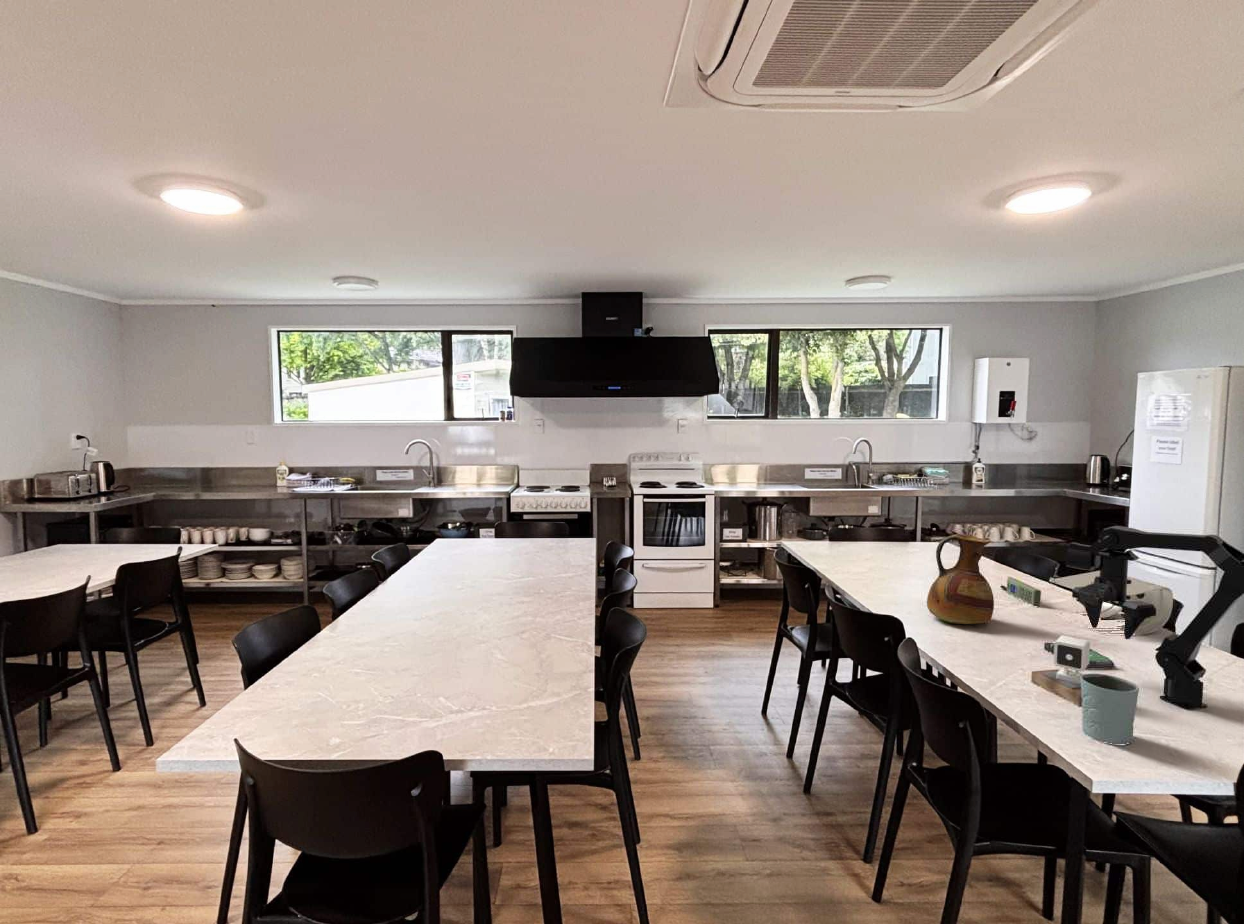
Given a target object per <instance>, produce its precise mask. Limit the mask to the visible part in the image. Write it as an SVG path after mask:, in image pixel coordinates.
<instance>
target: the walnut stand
mask: <svg viewBox="0 0 1244 924" xmlns="http://www.w3.org/2000/svg"><path fill="white" fill-rule="evenodd" d="M1060 669H1061V668H1059V669H1058V668H1056V669H1043V670H1032V671H1031V681H1030V683H1031V682H1033V683H1034V685H1035V684H1036V685H1035V686H1037V685H1038V686H1037V687H1039V686H1041V687H1042V688H1041V687H1040V688H1041V689H1043V688H1044V689H1043V690H1045V689H1046V690H1045V691H1047V690H1048V691H1047V692H1049V691H1051V692H1052V693H1051V692H1050V693H1051V694H1053V693H1055V694H1056V696H1057V695H1059V696H1060V697H1059V696H1058V697H1059V698H1061V697H1063V698H1064V700H1065V699H1067V700H1069V701H1071V702H1073V703H1074V704H1073V703H1072V704H1073V705H1075V704H1077V705H1078V707H1082V697H1081V695H1082V691H1081V684H1078V683H1074V682H1070V681H1066V680H1061V679H1057V672H1058V671H1059V670H1060ZM1033 683H1032V684H1033ZM1055 694H1054V695H1055ZM1063 698H1062V699H1063ZM1067 700H1066V701H1067ZM1069 701H1068V702H1069ZM1071 702H1070V703H1071ZM1077 705H1076V706H1077Z"/></svg>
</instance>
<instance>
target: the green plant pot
mask: <svg viewBox="0 0 1244 924" xmlns="http://www.w3.org/2000/svg"><path fill="white" fill-rule="evenodd" d="M1080 680H1081V691H1082V695H1081V697H1082V706H1081V713H1082V715H1081V724H1082V725H1081V727H1082V732H1083V731H1084V732H1083V733H1084V734H1085V735H1086V734H1087V735H1088V737H1089V736H1090V737H1092V738H1094V739H1096V740H1095V741H1097V740H1099V741H1098V742H1100V741H1102V742H1101V743H1103V742H1107V743H1112V744H1127V743H1131V744H1132V743H1133V735H1134V723H1135V722H1134V721H1135V716H1136V715H1135V712H1136V710H1137V703H1138V699H1139V691H1140V687H1139V685H1137V684H1135V683H1133V681H1129V680H1127V679H1125V678H1121V677H1119V676H1113V675H1109V674H1102V673H1086V674H1084V675H1082V676H1081V677H1080ZM1087 735H1086V736H1087ZM1090 737H1089V738H1090ZM1092 738H1091V739H1092ZM1094 739H1093V740H1094Z"/></svg>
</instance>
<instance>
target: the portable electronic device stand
mask: <svg viewBox="0 0 1244 924" xmlns="http://www.w3.org/2000/svg"><path fill="white" fill-rule="evenodd" d="M1096 576H1100V570H1096V571H1095V570H1094V571H1090V572H1085V573H1080V574H1075V575H1068V576H1064V577H1063V576H1062V577H1057V578H1054V577H1050V578H1049V580H1048V581H1049V582H1050V583H1053V584H1056V585H1059V586H1062V587H1066V588H1068V589H1070V590H1073V589H1074V588H1075V587H1085V586H1087V585H1089V584H1093V583H1094V579H1095V577H1096ZM1127 579H1129V580H1131V584H1127V593H1126V595H1130V600H1126V601H1142V602H1146V603H1149V604H1153V605H1154V606H1155V607H1156V616H1151V617H1150V618H1146V619H1145V620H1144V621H1143V622H1142V623H1141V624H1140V625H1139V627H1138V628H1137V630H1136V631H1135V632H1134V634H1135V635H1134V636H1143V635H1147V634H1152V633H1154V632H1156V631H1158V630H1159V629H1161V628H1163V627H1164V626H1165V624H1167V622H1168V620H1169V619H1170V618H1171V615H1172V610H1173V607H1174V606H1173V605H1174V604H1173V603H1174V595H1173V590H1171V589H1170V588H1169V587H1167V586H1163V585H1159V584H1155V583H1153V582H1149V581H1145V580H1141V579H1138V578H1135V577H1131V576H1128V575H1127ZM1141 594H1144V596H1143V597H1142V598H1140V597H1138V596H1137V595H1141ZM1115 602H1116V601H1115ZM1117 603H1118V602H1117ZM1082 611H1083V612H1082V613H1087V612H1086V610H1082ZM1120 612H1123V610H1122V607H1119V606H1115V605H1112V604H1109V603H1105V602H1103V604H1102V608H1101V613H1100V617H1099V618H1103V619H1109V618H1110V617H1114V616H1115V615H1118V614H1119V613H1120ZM1060 614H1062V613H1060ZM1081 615H1083V616H1086V615H1087V616H1088V614H1081ZM1117 619H1118V620H1125V619H1124V618H1117ZM1071 622H1072V621H1071ZM1071 622H1070V623H1071ZM1074 622H1075V621H1074ZM1076 622H1077V621H1076ZM1083 622H1084V621H1083ZM1117 622H1120V621H1117ZM1121 622H1125V621H1121ZM1085 627H1086V626H1085ZM1087 627H1088V626H1087ZM1117 627H1121V628H1116V629H1120V630H1093V631H1092V632H1095V631H1098V632H1107V633H1103V634H1102V635H1105V634H1124V633H1110V632H1112V631H1124V629H1125V625H1122V626H1117ZM1089 629H1090V628H1089ZM1089 629H1088V630H1089ZM1091 629H1106V628H1091ZM1107 629H1114V628H1107ZM1098 632H1097V633H1098Z"/></svg>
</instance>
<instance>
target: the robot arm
mask: <svg viewBox="0 0 1244 924" xmlns="http://www.w3.org/2000/svg"><path fill="white" fill-rule="evenodd" d="M1097 538H1098V539H1096V540H1095V541H1094V542H1093V543H1092V544H1091V545H1088V544H1083V543H1082V544H1081V543H1079V542H1070V543H1068V545H1069V546H1068V548H1067V550H1066V553H1065V555H1064V564H1065V566H1066V567H1067V568H1073V569H1078V570H1084V571H1090V572H1094V571H1095V569H1098V568H1099V571H1100V576H1096V577H1095V579H1094V583H1092V584H1089V585H1087V586H1085V587H1075V588H1074V589H1071V595H1072V596H1071V597H1072V598H1073V599H1075V601H1077V602H1078V603H1079V604H1081V605H1082V606H1083V607H1084V609H1085V611H1086V612H1087V614H1088V617H1089V620H1090V623H1091V625H1092V627H1093V628H1096V627H1097V625H1098V622H1099V617H1100V613H1101V608H1102V604H1103V602H1105V603H1109V604H1112V605H1115V606H1119V607H1122V612H1123V613H1121V614H1120V615H1121V616H1122V619H1125V629H1124V635H1125V636H1124V639H1125V640H1130V639H1132V637H1133V636H1132V635H1133V634H1134V632H1135V631H1136V630H1137V628H1138V627H1139V625H1140V624H1141V623H1142V622H1143V621H1144V620H1145V619H1146V618H1150V617H1151V616H1156V607H1155V606H1154V605H1153V604H1149V603H1146V602H1142V601H1126V600H1130V595H1126V593H1127V584H1131V580H1129V579H1127V576H1128V571H1129V570H1128V569H1129V561H1131V562H1133V561H1136V560H1139V558H1140V557H1139V556H1138V555H1137V554H1135V553H1134V552H1133V550H1132V549H1142V548H1147V549H1163V550H1175V551H1187V552H1188V551H1191V552H1202V553H1203V554H1205V555H1206V556H1207V557H1208V558H1209V559H1210V560H1211V561H1212V563H1213V564H1215V565H1216V566H1217V567H1218V568H1219V569H1220V570H1222V571H1223V573H1222V577H1221V578H1220V579H1219V584H1218V587H1217V590H1215V592H1214V593H1213V595H1212V596H1211V597H1210V599H1208V601H1207V602H1206V603H1205V604H1204V606H1203V607H1202V608H1201V609H1200V610H1199V612H1197V614H1196V615H1195V616H1194V618H1193V619H1192V620H1191V621H1190V623H1189V624H1188V625H1187V626H1186V628H1185V629H1184V630H1183V631H1182V632H1181V634H1179V635H1177V634H1176V633H1174V632H1173V633H1171V634H1169V635H1168V636H1166V637H1164V638H1163V640H1162V643H1161V644H1160V645H1159V646H1158V647H1157V648H1155V649H1154V650H1155V651H1157V652H1156V654H1155V656H1154V657H1155V658H1154V659H1155V661H1156V663H1157V665H1158V666H1159V667H1160V668H1161V669H1162V670H1163V673H1164V675H1165V678H1163V695H1159V699H1161V700H1163V701H1166V702H1168V703H1171V704H1173V705H1175V706H1177V707H1180V708H1182V709H1185V710H1192V709H1194V710H1195V709H1203V708H1208V705H1207V703H1204V702H1203V697H1204V681H1201V680H1200V679H1201V678H1203V677H1204V676H1205V674H1206V672H1207V670H1206V668H1204V666H1203V665H1202V664H1200V662H1199V661H1198V660H1197V659H1196V658H1197V656H1198V655H1199V652H1200V648H1201V647H1202V646H1201V645H1202V644H1203V641H1204V640H1205V639H1206V638H1207V637H1208V636H1209V634H1210V633H1211V632H1212V631H1213V630H1214V629H1215V627H1216V626H1217V625H1218V624H1219V623H1220V621H1221V620H1223V618H1224V617H1225V615H1227V613H1228V612H1229V611H1230V610H1231V608H1233V606H1234V605H1235V604H1236V603H1237V602H1238V600H1239V599H1240V598H1242V597H1243V596H1244V552H1243V551H1241V550H1240V549H1238V548H1236V547H1235V546H1233V545H1231V544H1229V543H1228V542H1226V541H1225V540H1224V539H1223V538H1221V537H1220V536H1219V535H1217V534H1191V533H1190V534H1188V533H1187V534H1186V533H1171V532H1150V531H1144V530H1141V529H1137V528H1134V527H1127V526H1122V525H1114V526H1109V527H1107V528H1106V527H1105V528H1103V529H1101V531H1099V533H1098V536H1097ZM1107 550H1109V553H1108V552H1103V551H1107ZM1119 550H1120V551H1119ZM1121 550H1126V551H1124V552H1123V551H1121ZM1115 601H1116V602H1115ZM1117 602H1118V603H1117Z"/></svg>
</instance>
